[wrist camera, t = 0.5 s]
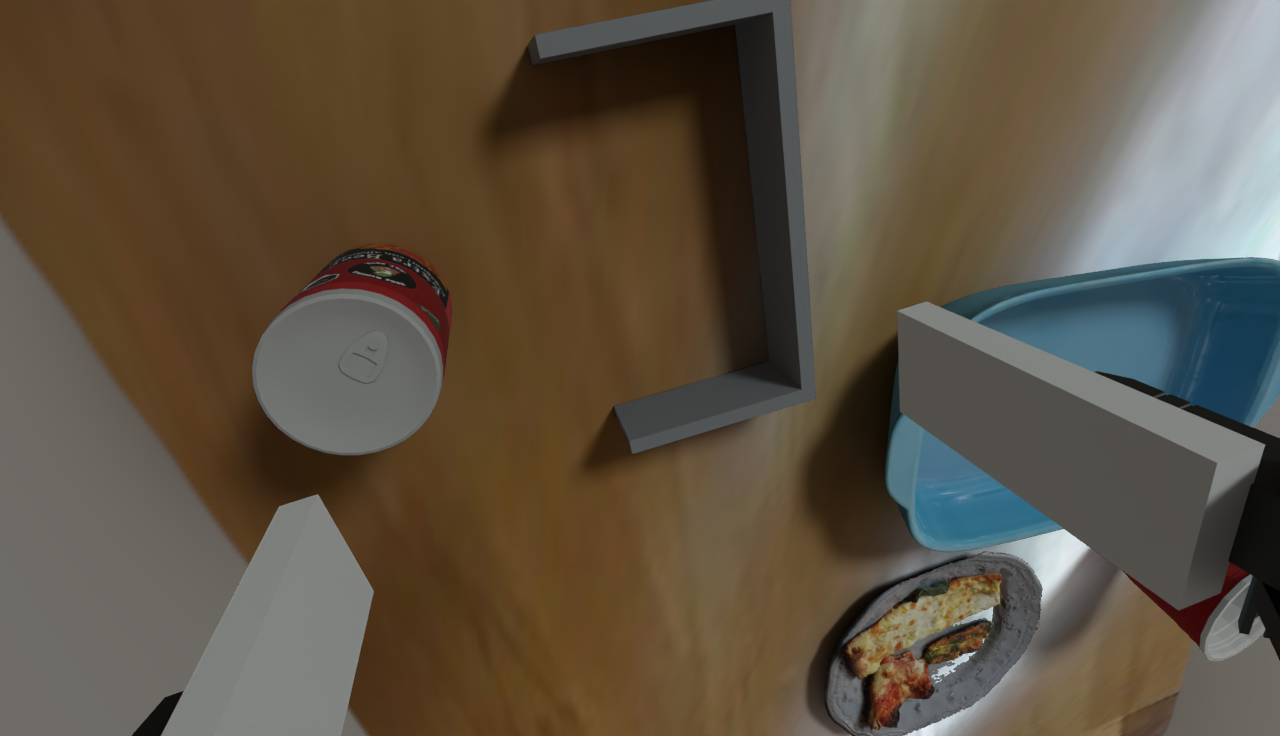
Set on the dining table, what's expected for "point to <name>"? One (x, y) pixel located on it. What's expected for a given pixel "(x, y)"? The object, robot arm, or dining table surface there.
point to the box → (777, 193)
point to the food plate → (932, 645)
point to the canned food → (357, 352)
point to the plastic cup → (1215, 617)
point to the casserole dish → (1106, 342)
